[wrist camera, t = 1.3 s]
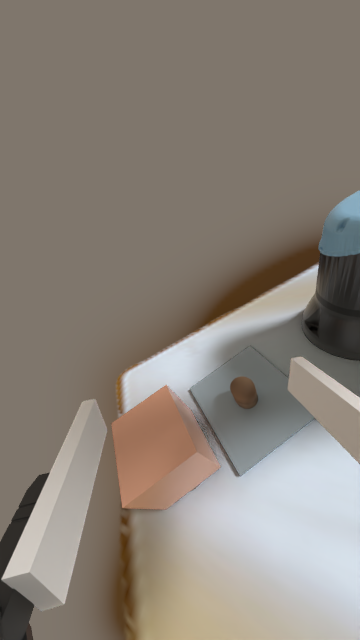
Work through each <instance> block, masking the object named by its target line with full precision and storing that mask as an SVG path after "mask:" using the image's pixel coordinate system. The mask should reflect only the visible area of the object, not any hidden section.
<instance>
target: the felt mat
mask: <svg viewBox="0 0 360 640" xmlns="http://www.w3.org/2000/svg"><path fill="white" fill-rule="evenodd" d="M240 376H244V377H247V378H249V379H251V380H252V381H253V383H254V385H255V388H256V392H257V395H258V402H257V404H256V405H255V406H254V407H253V408H250V409H245V408H242V407H240V406H239V405H238V404H237V403H236V401H235V399H234V397H233V395H232V393H231V390H230V384H231V382H232V381H233V380H234V379H235V378H237V377H240ZM288 381H289V378H288V377H287V376H285V375H284V374H283V373H282V372H281V371H279V370H278V369H277V368H276V367H275V366H274V365H272V364H271V363H270V362H269V361H268V360H267V359H265V358H264V357H263V356H262V355H261V354H260V353H258V352H257V351H256V350H255V349H254V348H253V347H251V346H249V347H247V348H246V349H244V350H243V351H242V352H240V353H239V354H237V355H236V356H235V357H233V358H232V359H230V360H229V361H228V362H226V363H225V364H223V365H222V366H221V367H219V368H218V369H216V370H215V371H214V372H212V373H211V374H209V375H208V376H207V377H205V378H204V379H202V380H201V381H200V382H198V383H197V384H195V385H194V386H193V387H191V388H190V390H191V392H192V394H193V395H194V397H195V399H196V400H197V402H198V404H199V406H200V407H201V409H202V411H203V413H204V414H205V416H206V418H207V420H208V421H209V423H210V425H211V427H212V428H213V430H214V432H215V433H216V435H217V437H218V439H219V440H220V442H221V444H222V446H223V447H224V449H225V451H226V453H227V454H228V456H229V458H230V460H231V461H232V463H233V465H234V466H235V468H236V470H237V472H238V473H239V475H240V476H241V475H243V474H244V473H245V472H247V471H248V470H249V469H250V468H252V467H253V466H254V465H256V464H257V463H258V462H259V461H261V460H262V459H263V458H264V457H266V456H267V455H268V454H270V453H271V452H272V451H273V450H275V449H276V448H277V447H278V446H280V445H281V444H282V443H284V442H285V441H286V440H287V439H289V438H290V437H291V436H292V435H294V434H295V433H296V432H298V431H299V430H300V429H301V428H303V427H304V426H305V425H307V424H308V423H309V422H310V421H312V420H313V419H314V418H315V417H314V416H313V415H312V414H311V413H310V412H309V411H308V410H307V409H306V408H305V407H304V406H303V405H302V404H301V403H300V402H299V401H298V400H297V399H296V398H295V397H294V396H293V395H292V394H291V393H290V392H289V391H288Z"/></svg>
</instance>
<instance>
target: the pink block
mask: <svg viewBox="0 0 360 640" xmlns="http://www.w3.org/2000/svg"><path fill="white" fill-rule="evenodd" d="M112 433H113V440H114V448H115V456H116V464H117V471H118V479H119V487H120V494H121V502H122V508H130V509H163V510H166V509H168V508H169V507H170V506H171V505H173V504H174V503H175V502H177V501H178V500H179V499H180V498H182V497H183V496H184V495H186V494H187V493H188V492H190V491H191V490H192V489H193V488H195V487H196V486H197V485H199V484H200V483H201V482H203V481H204V480H205V479H206V478H208V477H209V476H210V475H212V474H213V473H214V472H216V471H217V470H218V469H219V468H221V466H220V464H219V463H218V461H217V459H216V457H215V455H214V453H213V451H212V449H211V447H210V445H209V443H208V442H207V440H206V438H205V436H204V434H203V432H202V430H201V428H200V426H199V424H198V422H197V420H196V419H195V417H194V415H193V413H192V411H191V409H190V408H189V407H188V406H187V405H186V404H185V403H184V402H183V401H182V400H181V399H180V398H179V397H178V396H177V395H176V394H175V393H174V392H173V391H172V390H171V389H170V388H169V387H168V386H167V385H165V386H164V387H162V388H161V389H160V390H158V391H157V392H155V393H154V394H152V395H151V396H150V397H148V398H147V399H145V400H144V401H143V402H141V403H140V404H138V405H137V406H135V407H134V408H133V409H131V410H130V411H128V412H127V413H125V414H124V415H123V416H121V417H120V418H118V419H117V420H116V421H114V422H113V423H112Z"/></svg>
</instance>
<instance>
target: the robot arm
mask: <svg viewBox="0 0 360 640" xmlns="http://www.w3.org/2000/svg"><path fill="white" fill-rule="evenodd" d="M319 250H320V260H319V268H318V276H317V284H316V293H315V294H314V296H313V297H312V299H311V300H310V302H309V304H308V305H307V307H306V308H305V310H304V313H303V317H302V328H303V331H304V333H305V335H306V337H307V338H308V339H309V340H310V341H311V342H312V343H313V344H314V345H316V346H317V347H318V348H320V349H322V350H324V351H326V352H328V353H330V354H333V355H336V356H339V357H343V358H347V359H353V360H360V190H359V191H358V192H356V193H354V194H353V195H351V196H349V197H348V198H346V199H344V200H343V201H341V202H340V203H339V204H338V205H336V206H335V207H334V209H333V210H332V211H331V212H330V213H329V214H328V216H327V218H326V220H325V223H324V228H323V234H322V239H321V241H320V243H319ZM288 391H289V392H290V393H291V394H292V395H293V396H294V397H295V398H296V399H297V400H298V401H299V402H300V403H301V404H302V405H303V406H304V407H305V408H306V409H307V410H308V411H309V412H310V413H311V414H312V415H313V416H314V417H315V418H316V420H317V421H318V422H319V423H320V424H321V425H322V426H323V427H324V428H325V429H326V430H327V431H328V432H329V433H330V434H331V435H332V436H333V437H334V438H335V439H336V440H337V441H338V442H339V443H340V444H341V445H342V446H343V447H344V448H345V449H346V450H347V451H348V452H349V453H350V455H351V456H352V457H353V458H354V459H355V460H356V461H357V462H358V463H359V464H360V397H358V396H357V395H355V394H354V393H353V392H351V391H350V390H348V389H347V388H345V387H344V386H343V385H341V384H340V383H338V382H337V381H336V380H334V379H333V378H331V377H330V376H329V375H327V374H326V373H324V372H323V371H322V370H320V369H319V368H317V367H316V366H315V365H313V364H312V363H310V362H309V361H307V360H306V359H305V358H303V357H302V356H300V357H295V358H291V363H290V372H289V381H288ZM106 434H107V428H106V425H105V422H104V420H103V417H102V415H101V412H100V410H99V407H98V405H97V402H96V400H95V399H92V400H87V401H83V402H82V404H81V406H80V408H79V410H78V412H77V415H76V417H75V419H74V421H73V423H72V426H71V428H70V430H69V432H68V434H67V437H66V439H65V441H64V443H63V445H62V448H61V450H60V452H59V454H58V456H57V459H56V461H55V463H54V465H53V467H52V470H51V472H50V473H47V474H42V475H39V476H38V477H37V478H36V480H35V481H34V482H33V484H32V485H31V486H30V487H29V488H28V490H27V491H26V493H25V495H24V497H23V499H22V501H21V503H20V505H19V509H18V510H17V511H16V513H15V515H14V517H13V518H12V522H11V524H9V526H8V528H7V530H6V532H5V534H4V536H3V538H2V540H1V542H0V640H33V636H32V630H31V626H30V624H29V620H30V617H31V614H32V611H33V608H34V606H35V607H36V608H38V609H39V610H40V611H44V610H48V609H51V608H55V607H58V606H61V605H64V604H65V600H66V596H67V592H68V587H69V584H70V580H71V576H72V572H73V568H74V564H75V560H76V556H77V552H78V547H79V543H80V539H81V535H82V531H83V527H84V523H85V519H86V515H87V511H88V507H89V502H90V499H91V494H92V491H93V486H94V482H95V478H96V474H97V470H98V466H99V462H100V458H101V454H102V450H103V445H104V442H105V438H106Z"/></svg>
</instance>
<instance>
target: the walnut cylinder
mask: <svg viewBox="0 0 360 640" xmlns="http://www.w3.org/2000/svg"><path fill="white" fill-rule="evenodd" d="M230 390H231V393H232V395H233V397H234V399H235V401H236V403H237V404H238V405H239V406H240V407H242V408H245V409H250V408H253V407H254V406H255V405H256V404H257V402H258V395H257V392H256V388H255V385H254V383H253V381H252V380H251V379H249V378H247V377H244V376H240V377H237V378H235V379H234V380H233V381H232V382H231V384H230Z"/></svg>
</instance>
